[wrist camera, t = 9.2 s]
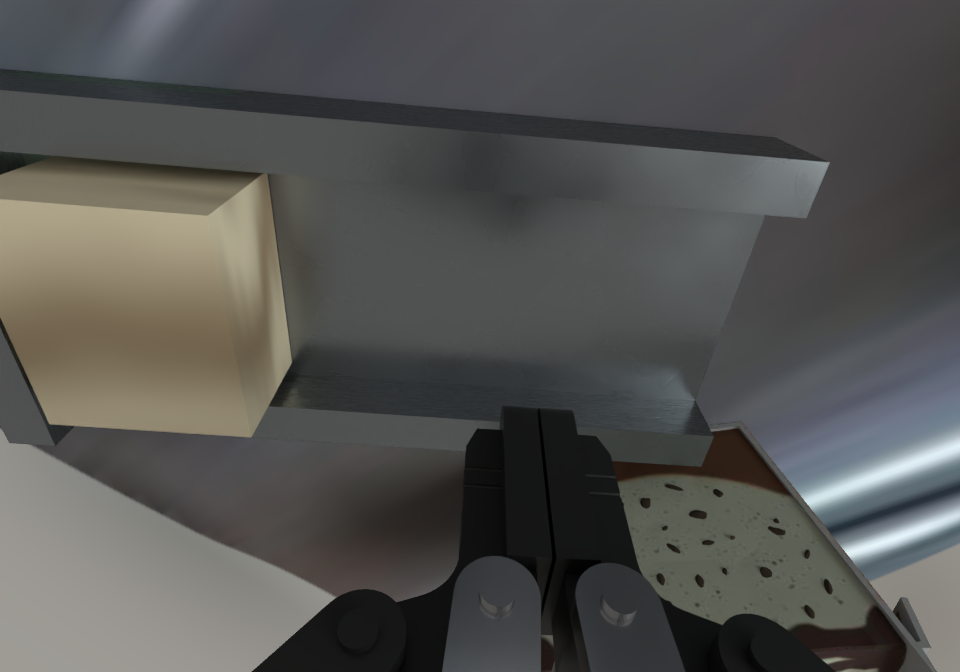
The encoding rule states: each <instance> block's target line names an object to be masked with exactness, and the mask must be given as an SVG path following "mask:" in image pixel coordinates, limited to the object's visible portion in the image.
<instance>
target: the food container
mask: <svg viewBox="0 0 960 672" xmlns="http://www.w3.org/2000/svg"><path fill="white" fill-rule="evenodd" d="M709 428H710V430H711V432H712V434H713V436H714V438H713V440H712V442H711V445H710V447H709V449H708V452H707V454H706V456H705V459H704V461H703V464H702V466H701V467H697V466H682V465H666V464H651V463H636V462H620V461H612V463H613V467H614V471H615V475H616V480H617V482H618V486H619V490H620V497H621V498H622V502H623V506H624V510H625V514H626V518H627V522H628V526H629V530H630V534H631V538H632V542H633V546H634V550H635V554H636V558H637V562H638V565H639V568H640V570H641V572H642V575H643V576H644V578H645V579H646V580H648V581H649V583H650V584H651V585H652V586H653V587H654V589H655V591H656V592H657V594H658V595H660V596H661V597H662V598H663V599H665V600H666V601H667V602H669V603H670V604H672V605H674V606H676V607H678V608H680V609H682V610H684V611H687V612H690V613H692V614H695V615H698V616H700V617H703V618H705V619H708V620H711V621H713V622H716V623H719V624H721V625H723V624H724V623H725V621H726V620H728V619H729V618H730V617H732V616H735V615H738V614H755V615H760V616H763V617H766V618H768V619H770V620H772V621H774V622H776V623H778V624H779V625H781V626H783V627H784V628H785V629H786V630H788V631H789V632H790V633H792V634H793V635H794V636H795V637H796V638H797V639H799V640H800V641H801V642H802V643H803V644H804V645H806V646H807V647H808V648H809V649H810V650H811V651H813V652H814V653H815V654H816V655H817V656H818V657H820V658H821V659H822V660H823V661H824V662H825V663H827V664H828V665H829V666H830V667H831V668H832V669H834V670H835V671H836V672H937V671H936V670H935V668H934V667H933V665H932V663H931V662H930V660H929V659H928V657H927V653H928V652H929V650H930V649H931V646H930V644H929V642H928V640H927V638H926V636H925V634H924V632H923V630H922V628H921V626H920V624H919V622H918V619H917V617H916V615H915V613H914V611H913V609H912V607H911V605H910V603H909V601H908V599H907V598H903V597H901V598H900V600H899V601H898V603H897V605H896V607H895V608H894V610H893V612H892V611H891V609H890V608H889V607H888V606H887V604H886V603H885V602H884V600H883V599H882V598H881V597H880V595H879V594H878V593H877V592H876V590H875V589H874V588H873V587H872V585H871V584H870V583H869V582H868V580H867V579H866V578H865V577H864V575H863V574H862V573H861V571H860V570H859V569H858V568H857V566H856V565H855V564H854V563H853V561H852V560H851V559H850V558H849V556H848V555H847V554H846V553H845V551H844V550H843V549H842V548H841V546H840V545H839V544H838V543H837V541H836V540H835V539H834V537H833V536H832V535H831V534H830V532H829V531H828V530H827V529H826V527H825V526H824V525H823V524H822V522H821V521H820V520H819V519H818V517H817V516H816V515H815V514H814V512H813V511H812V510H811V508H810V507H809V506H808V505H807V503H806V502H805V501H804V500H803V498H802V497H801V496H800V495H799V493H798V492H797V491H796V490H795V488H794V487H793V486H792V485H791V483H790V482H789V481H788V480H787V478H786V477H785V476H784V474H783V473H782V472H781V471H780V469H779V468H778V467H777V466H776V464H775V463H774V462H773V461H772V459H771V458H770V457H769V456H768V454H767V453H766V452H765V451H764V449H763V448H762V447H761V446H760V444H759V443H758V442H757V440H756V439H755V438H754V437H753V435H752V434H751V433H750V432H749V430H748V429H747V428H746V427H745V425H744V424H743V423H742V422H735V423H726V424H718V425H710V426H709ZM554 661H555V656H554V645H553V635H541V672H552V668H553V664H554Z"/></svg>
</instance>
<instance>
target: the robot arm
mask: <svg viewBox="0 0 960 672" xmlns="http://www.w3.org/2000/svg"><path fill="white" fill-rule="evenodd" d="M541 635H553V645H554V656H555V661H554V664H553V668H552V672H836V671H835V670H834V669H832V668H831V667H830V666H829V665H828V664H827V663H825V662H824V661H823V660H822V659H821V658H820V657H818V656H817V655H816V654H815V653H814V652H813V651H811V650H810V649H809V648H808V647H807V646H806V645H804V644H803V643H802V642H801V641H800V640H799V639H797V638H796V637H795V636H794V635H793V634H792V633H790V632H789V631H788V630H786V629H785V628H784V627H783V626H781V625H779V624H778V623H776V622H774V621H772V620H770V619H768V618H766V617H763V616H760V615H755V614H738V615H735V616H732V617H730V618H729V619H728V620H726V621H725V623H724V624H723V625H721V624H719V623H716V622H713V621H711V620H708V619H705V618H703V617H700V616H698V615H695V614H692V613H690V612H687V611H684V610H682V609H680V608H678V607H676V606H674V605H672V604H670V603H669V602H667V601H666V600H665V599H663V598H662V597H661V596H660V595H658V594H657V592H656V591H655V589H654V587H653V586H652V585H651V584H650V583H649V581H648V580H646V579H645V578H644V576H643V575H642V572H641V570H640V568H639V565H638V562H637V558H636V554H635V550H634V546H633V542H632V538H631V534H630V530H629V526H628V522H627V518H626V514H625V510H624V506H623V502H622V498H621V497H620V490H619V486H618V482H617V480H616V475H615V471H614V467H613V463H612V459H611V455H610V453H609V452H608V451H607V449H606V448H605V447H604V446H603V444H602V443H601V442H600V440H599V439H598V438H597V436H589V435H578V433H577V428H576V422H575V417H574V413H573V411H572V410H564V409H549V408H538V409H536V408H532V407H516V406H502V410H501V418H500V427H499V430H495V429H479V428H477V429H476V431H475V433H474V434H473V436H472V437H471V439H470V440H469V442H468V444H467V445H466V456H465V469H464V483H463V496H462V513H461V530H460V546H459V560H458V563H457V566H456V568H455V570H454V572H453V573H452V575H451V576H450V577H449V579H448V580H447V581H446V582H445V583H444V584H442V585H441V586H440V587H438V588H437V589H435V590H433V591H431V592H430V593H427V594H424V595H421V596H418V597H414V598H411V599H407V600H403V601H400V602H395V601H394V600H393V599H392V598H390V597H389V596H388V595H386V594H384V593H382V592H379V591H375V590H369V589H362V590H355V591H350V592H348V593H345V594H343V595H341V596H339V597H337V598H335V599H334V600H333V601H332V602H330V603H329V604H328V605H327V606H326V607H324V608H323V609H322V610H321V611H320V612H319V613H318V614H317V615H316V616H314V617H313V618H312V619H311V620H310V621H309V622H308V623H306V624H305V625H304V626H303V627H302V628H301V629H300V630H298V631H297V632H296V633H295V634H294V635H293V636H292V637H291V638H289V639H288V640H287V641H286V642H285V643H284V644H283V645H282V646H280V647H279V648H278V649H277V650H276V651H275V652H274V653H272V654H271V655H270V656H269V657H268V658H267V659H266V660H265V661H263V663H261V664H260V665H259V666H258V667H257V668H256V669H254V670H253V671H252V672H541Z"/></svg>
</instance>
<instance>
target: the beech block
mask: <svg viewBox="0 0 960 672" xmlns="http://www.w3.org/2000/svg"><path fill="white" fill-rule="evenodd" d="M0 318H1V320H2V322H3V324H4V327H5V329H6V331H7V333H8V335H9V337H10V340H11V342H12V344H13V346H14V348H15V351H16V353H17V355H18V357H19V359H20V361H21V364H22V366H23V368H24V370H25V372H26V374H27V377H28V379H29V381H30V383H31V385H32V387H33V390H34V392H35V394H36V396H37V398H38V400H39V403H40V405H41V407H42V409H43V411H44V414H45V416H46V418H47V420H48V422H49V424H53V425H69V426H84V427H99V428H115V429H130V430H145V431H161V432H176V433H191V434H207V435H222V436H237V437H252V436H253V434H254V432H255V430H256V428H257V426H258V424H259V423H260V421H261V419H262V417H263V415H264V413H265V411H266V410H267V408H268V406H269V404H270V402H271V400H272V399H273V397H274V395H275V393H276V391H277V389H278V387H279V386H280V384H281V382H282V380H283V378H284V376H285V374H286V373H287V371H288V369H289V367H290V365H291V363H292V358H291V351H290V343H289V335H288V328H287V320H286V312H285V305H284V297H283V289H282V281H281V274H280V266H279V258H278V251H277V243H276V235H275V228H274V220H273V212H272V204H271V197H270V189H269V181H268V174H267V173H256V172H243V171H231V170H219V169H207V168H195V167H183V166H171V165H159V164H147V163H135V162H123V161H111V160H99V159H87V158H75V157H63V156H53V157H50V158H47V159H44V160H41V161H38V162H36V163H33V164H30V165H27V166H24V167H21V168H18V169H16V170H13V171H10V172H7V173H4V174H1V175H0Z"/></svg>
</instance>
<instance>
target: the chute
mask: <svg viewBox="0 0 960 672" xmlns="http://www.w3.org/2000/svg"><path fill="white" fill-rule="evenodd" d="M53 156H63V157H75V158H87V159H99V160H111V161H123V162H135V163H147V164H159V165H171V166H183V167H195V168H207V169H219V170H231V171H243V172H256V173H267V174H268V181H269V189H270V197H271V204H272V212H273V220H274V228H275V235H276V243H277V251H278V258H279V266H280V274H281V281H282V289H283V297H284V305H285V312H286V320H287V328H288V335H289V343H290V351H291V358H292V363H291V365H290V367H289V369H288V371H287V373H286V374H285V376H284V378H283V380H282V382H281V384H280V386H279V387H278V389H277V391H276V393H275V395H274V397H273V399H272V400H271V402H270V404H269V406H268V408H267V410H266V411H265V413H264V415H263V417H262V419H261V421H260V423H259V424H258V426H257V428H256V430H255V432H254V434H253V436H252V437H253V438H268V439H283V440H299V441H314V442H329V443H345V444H360V445H375V446H391V447H406V448H421V449H437V450H452V451H466V445H467V444H468V442H469V440H470V439H471V437H472V436H473V434H474V433H475V431H476V429H477V428H479V429H495V430H499V427H500V418H501V410H502V406H516V407H532V408H536V409H538V408H549V409H564V410H572V411H573V413H574V417H575V422H576V428H577V433H578V435H589V436H597V438H598V439H599V440H600V442H601V443H602V444H603V446H604V447H605V448H606V449H607V451H608V452H609V453H610V455H611V459H612V461H620V462H636V463H651V464H666V465H682V466H697V467H701V466H702V464H703V461H704V459H705V456H706V454H707V452H708V449H709V447H710V445H711V442H712V440H713V438H714V436H713V434H712V432H711V430H710V428H709V426H708V424H707V422H706V420H705V419H704V417H703V415H702V413H701V411H700V409H699V407H698V405H697V403H696V402H695V399H696V396H697V394H698V391H699V388H700V386H701V383H702V381H703V378H704V375H705V373H706V370H707V367H708V365H709V362H710V359H711V357H712V354H713V352H714V349H715V346H716V344H717V341H718V338H719V336H720V333H721V330H722V328H723V325H724V322H725V320H726V317H727V315H728V312H729V309H730V307H731V304H732V301H733V299H734V296H735V293H736V291H737V288H738V286H739V283H740V280H741V278H742V275H743V272H744V270H745V267H746V264H747V262H748V259H749V256H750V254H751V251H752V249H753V246H754V243H755V241H756V238H757V235H758V233H759V230H760V227H761V225H762V222H763V219H764V217H765V215H772V216H784V217H796V218H806V217H807V215H808V213H809V210H810V208H811V206H812V203H813V201H814V198H815V196H816V194H817V191H818V189H819V187H820V184H821V182H822V179H823V177H824V175H825V172H826V170H827V168H828V165H829V163H830V162H828V161H825V160H823V159H821V158H819V157H817V156H815V155H812V154H810V153H808V152H806V151H804V150H801V149H799V148H797V147H795V146H793V145H790V144H788V143H786V142H784V141H782V140H779V139H777V138H773V137H761V136H750V135H739V134H728V133H716V132H705V131H694V130H683V129H671V128H660V127H649V126H637V125H626V124H615V123H604V122H592V121H581V120H570V119H559V118H547V117H536V116H525V115H513V114H502V113H491V112H480V111H468V110H457V109H446V108H435V107H423V106H412V105H401V104H390V103H378V102H367V101H356V100H344V99H333V98H322V97H311V96H299V95H288V94H277V93H266V92H254V91H243V90H232V89H220V88H209V87H198V86H187V85H175V84H164V83H153V82H142V81H130V80H119V79H108V78H96V77H85V76H74V75H63V74H51V73H40V72H29V71H18V70H6V69H0V175H1V174H4V173H7V172H10V171H13V170H16V169H18V168H21V167H24V166H27V165H30V164H33V163H36V162H38V161H41V160H44V159H47V158H50V157H53ZM0 426H1V428H2V430H3V432H4V434H5V436H6V437H7V439H8V441H9V443H18V444H33V445H49V446H56V445H57V444H58V443H59V442H60V441H61V440H62V439H63V437H64V436H65V435H66V434H67V433H68V432H69V431H70V430H71V429H72V428H73V427H74V426H69V425H53V424H49V422H48V420H47V418H46V416H45V414H44V411H43V409H42V407H41V405H40V403H39V400H38V398H37V396H36V394H35V392H34V390H33V387H32V385H31V383H30V381H29V379H28V377H27V374H26V372H25V370H24V368H23V366H22V364H21V361H20V359H19V357H18V355H17V353H16V351H15V348H14V346H13V344H12V342H11V340H10V337H9V335H8V333H7V331H6V329H5V327H4V324H3V322H2V320H1V318H0Z"/></svg>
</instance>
